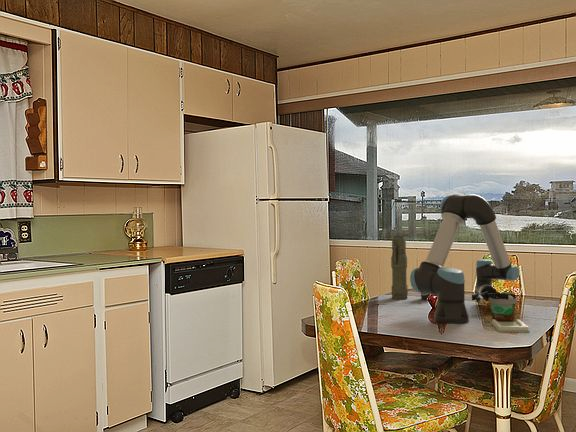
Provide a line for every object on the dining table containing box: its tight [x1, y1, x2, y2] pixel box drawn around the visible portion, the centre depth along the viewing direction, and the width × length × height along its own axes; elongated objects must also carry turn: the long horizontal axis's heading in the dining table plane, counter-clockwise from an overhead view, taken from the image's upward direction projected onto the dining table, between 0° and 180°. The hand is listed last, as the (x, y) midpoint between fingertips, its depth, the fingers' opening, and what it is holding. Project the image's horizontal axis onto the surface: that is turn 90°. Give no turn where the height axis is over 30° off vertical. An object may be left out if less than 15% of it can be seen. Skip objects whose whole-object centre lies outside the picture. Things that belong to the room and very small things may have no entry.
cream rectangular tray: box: [490, 318, 530, 333], centre depth 249 cm, size 12×16×2 cm
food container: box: [487, 297, 518, 322], centre depth 264 cm, size 12×6×10 cm, turn 62°
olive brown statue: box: [390, 235, 409, 301], centre depth 328 cm, size 9×12×35 cm
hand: (497, 300), depth 273 cm, fingers open, 13 cm apart
